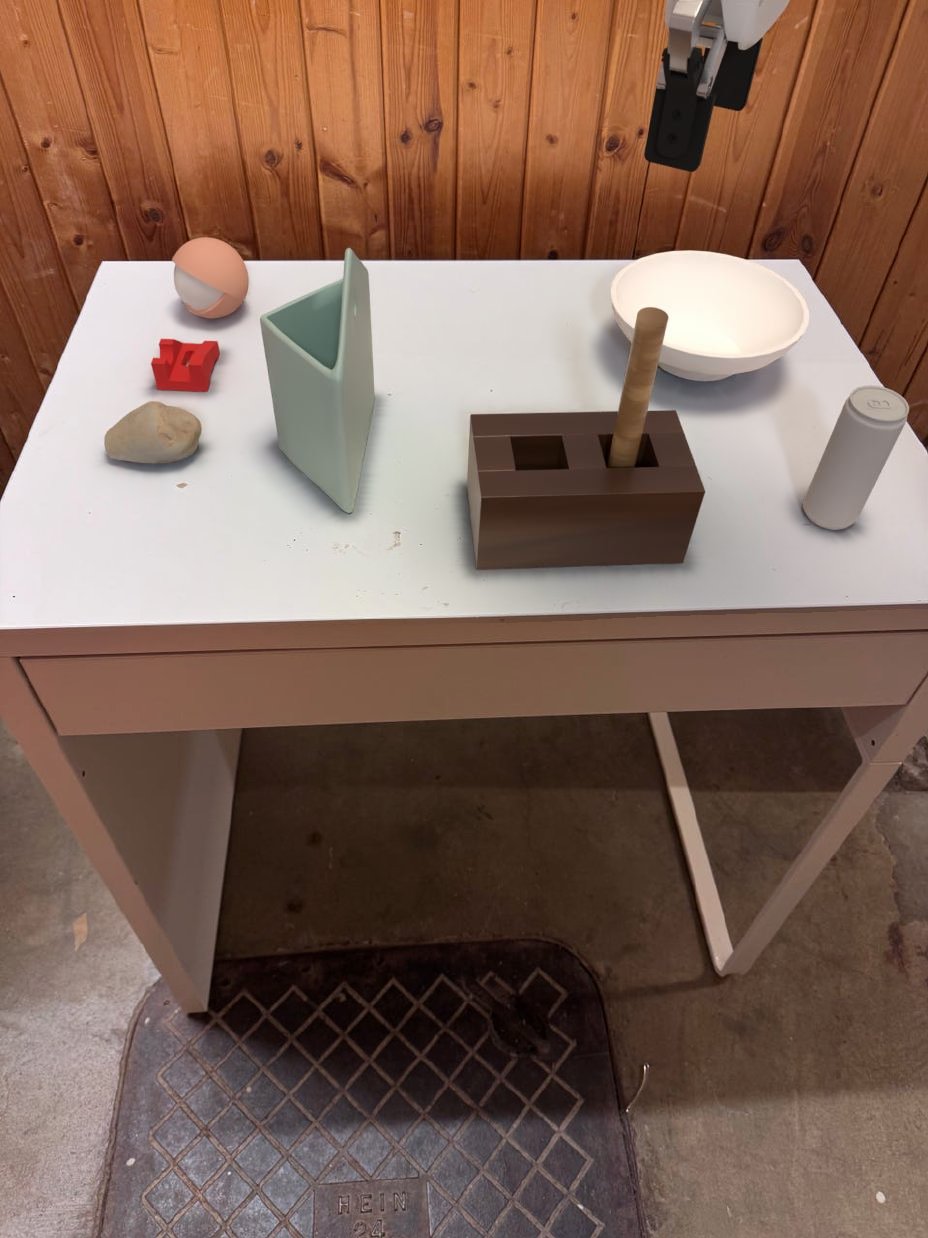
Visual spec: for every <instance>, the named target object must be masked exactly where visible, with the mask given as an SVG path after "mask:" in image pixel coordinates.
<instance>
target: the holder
mask: <svg viewBox="0 0 928 1238" xmlns="http://www.w3.org/2000/svg"><path fill="white" fill-rule="evenodd" d="M617 414H618V410H616V411H610V410H609V411H566V412H565V411H563V412H561V411H560V412H557V411H555V412H520V413H519V412H511V413H510V412H509V413H471V414H470V415H469V435H468V454H467V455H468V457H467V475H466V476H467V478H466V492H467V500H468V508H469V517H470V525H471V534H472V542H473V553H474V561H475V568H476V570H477V571H478V570H503V569H504V570H506V569H507V570H508V569H509V570H510V569H535V568H537V569H538V568H566V567H570V568H571V567H599V566H627V565H629V566H630V565H661V564H663V565H664V564H683V563H684V561H685V558H686V555H687V552H688V549H689V545H690V542H691V539H692V536H693V533H694V529H695V527H696V523H697V519H698V516H699V514H700V510H701V507H702V504H703V501H704V497H705V495H706V490H705V487H704V483H703V481H702V478H701V475H700V473H699V470H698V467H697V465H696V462H695V459H694V456H693V453H692V450H691V448H690V445H689V442H688V440H687V437H686V434H685V432H684V429H683V426H682V423H681V421H680V418H679V415H678V412H677V410H675V409H667V410H666V409H665V410H664V409H663V410H662V409H661V410H648V411H647V415H646V420H645V424H644V428H643V433H642V437H641V442H640V446H639V450H638V455H637V459H636V463H635V468H607V465H608V460H609V454H610V449H611V444H612V439H613V434H614V429H615V424H616V419H617Z"/></svg>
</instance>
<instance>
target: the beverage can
mask: <svg viewBox="0 0 928 1238" xmlns="http://www.w3.org/2000/svg"><path fill="white" fill-rule="evenodd" d="M909 412H910V406H909V403H908V401H907V400H906V399H905V398H904V397H903V396H902V395H901V394H900V393H898V392H897V391H894V390H893V389H890V388H887V387H884V386H880V385H871V384H870V385H862V386H858V387H856V388H854V389H853V390H852V391H851V392H850V393H849V396H848V397H847V399H845V401H844V403H843V406H842V409H841V410H840V413H839V415H838V418H837V420H836V423H835V425H834V428H833V430H832V432H831V434H830V437H829V439H828V441H827V444H826V446H825V449H824V450H823V453H822V455H821V458H820V460H819V463H818V465H817V468H816V470H815V472H814V474H813V477H812V478H811V482H810V483H809V487H808V489H807V491H806V494H805V495H804V498H803V503H802V507H803V511H804V513H805V515H806V516H807V518H808V519H809V520H810V521H811V523H814V524H815V525H816V526H818V527H821V528H823V529H827V530H832V531H838V530H843V529H847V528H848V527H850V526H852V525H854V524H855V523H856V522H857V521H858V520H859V517H860V515H861V514H862V511H863V509H864V508H865V505H866V503H867V502H868V499H869V498H870V495H871V493H872V491H873V489H874V487H875V485H876V483H877V482H878V479H879V478H880V476H881V473H882V471H883V469H884V467H885V465H886V463H887V461H888V460H889V457H890V455H891V454H892V451H893V449H894V447H895V445H896V443H897V441H898V439H899V437H900V435H901V433H902V431H903V429H904V427H905V425H906V423H907V420H908V414H909Z"/></svg>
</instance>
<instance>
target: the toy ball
mask: <svg viewBox="0 0 928 1238" xmlns="http://www.w3.org/2000/svg"><path fill="white" fill-rule="evenodd" d="M171 261H172V262H173V263H174V264H175V265H174V267H173V285H174V289H175V291H176V294H177V295H178V297H179V298H180V299H181V301H183V304H184V306H185V308H186V309H187V310H188V311H189V312H190V313H192V314H194V315H196V316H198V317H201V318H205V319H221V318H224V317H227V316H229V315H231V314H233V313H234V312H235V311H237V310H238V309H239V308H240V307H241V306H242V304H243V302H244V300H245V299H246V298H247V294H248V292H249V286H250V278H249V272H248V268H247V266H246V264H245V261H244V260H243V258H242V256H241V255H240V254H239V253H238V251H237V250H236V249H235V248H234V247H233V246H231V245H230V244H228V243H227V242H225V241H223V240H221V239H218V238H214V237H209V236H208V237H205V236H203V237H197V238H194V239H191V240H189V241H187V242H185V243H184V244H183V245H181V246H180V247H179V248H178V249H177V250H176V252H175V253H174V255H173V256H172V259H171Z"/></svg>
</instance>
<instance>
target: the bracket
mask: <svg viewBox="0 0 928 1238" xmlns="http://www.w3.org/2000/svg"><path fill="white" fill-rule="evenodd" d="M158 346H159V357H152V360H151V362H150V366H151V369H152V374H153V377H154V381H155V384H156V389H157V391H180V392H182V391H183V392H204V393H205V392H208V391H209V389H210V385H211V382H210V381H211V380H210V379H211V374H212V373H213V372H212V371H213V369H214V365H215V362H218V361H219V358H220V354H221V352H220V348H219V342H218V340H203V341H202V342H201V343H195V342H193V343H192V342H190V343H189V342H182V341H179V340H177V339H175V338H160V339H159V343H158Z"/></svg>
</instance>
